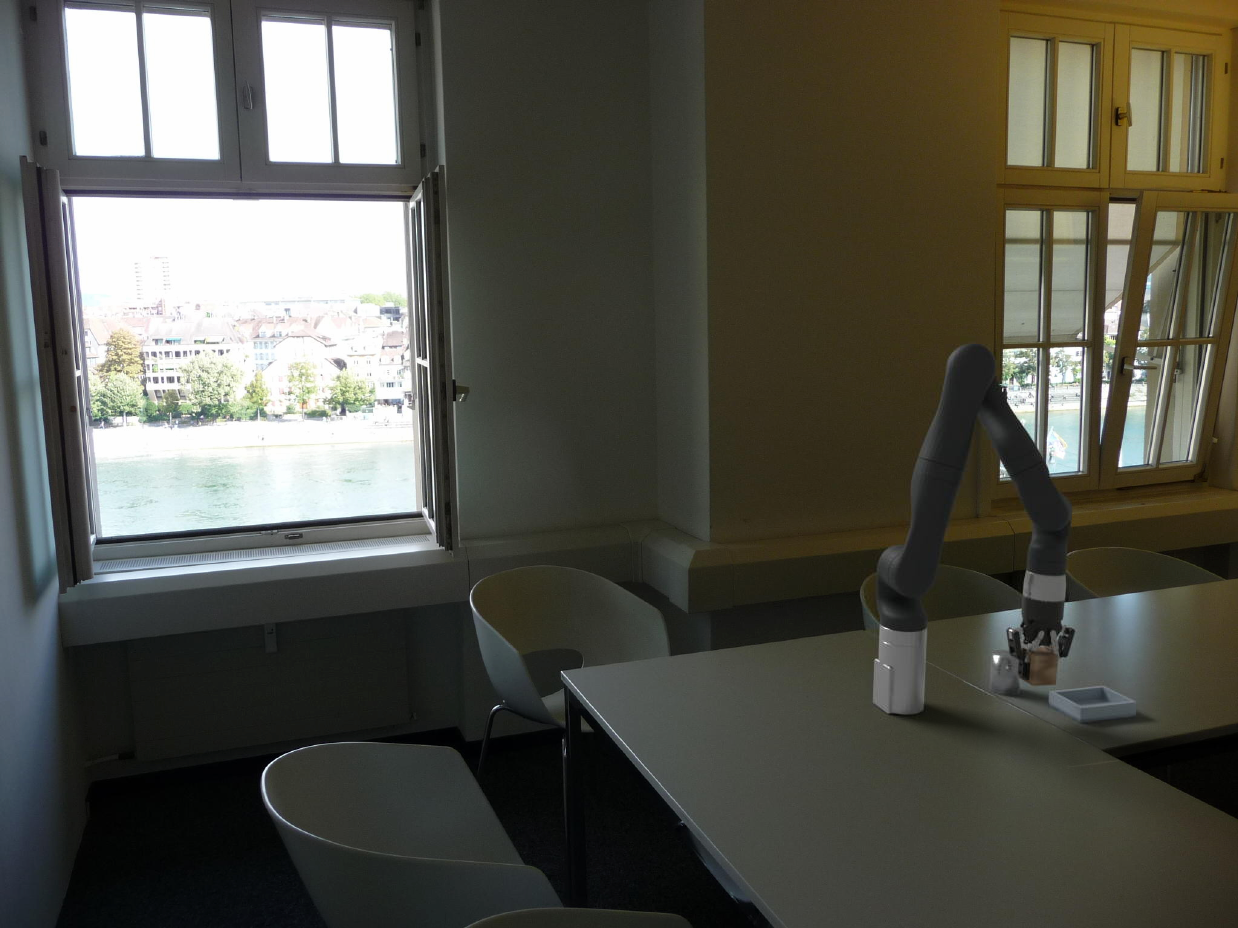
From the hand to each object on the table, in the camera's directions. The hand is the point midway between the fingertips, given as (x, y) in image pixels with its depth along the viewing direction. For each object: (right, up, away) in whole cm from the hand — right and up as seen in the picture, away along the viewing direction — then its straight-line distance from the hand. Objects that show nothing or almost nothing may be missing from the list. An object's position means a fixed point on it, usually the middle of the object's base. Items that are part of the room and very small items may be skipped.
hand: (1036, 678), depth 187 cm
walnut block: (0, -1, 0) cm, 0 cm away
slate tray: (+13, -8, +5) cm, 16 cm away
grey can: (0, -6, +16) cm, 17 cm away
